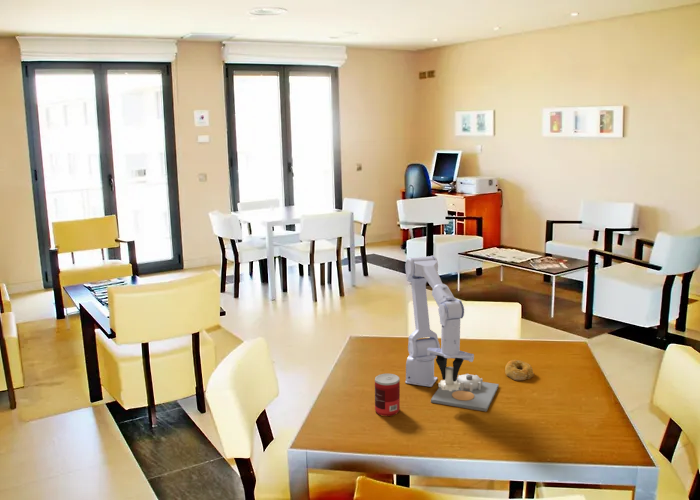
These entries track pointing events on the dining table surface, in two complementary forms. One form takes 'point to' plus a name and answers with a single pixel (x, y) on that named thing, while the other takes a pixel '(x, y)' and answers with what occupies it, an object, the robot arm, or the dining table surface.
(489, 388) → the plate
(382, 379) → the canned food
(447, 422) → the dining table surface
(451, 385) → the planet gear
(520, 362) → the bagel
